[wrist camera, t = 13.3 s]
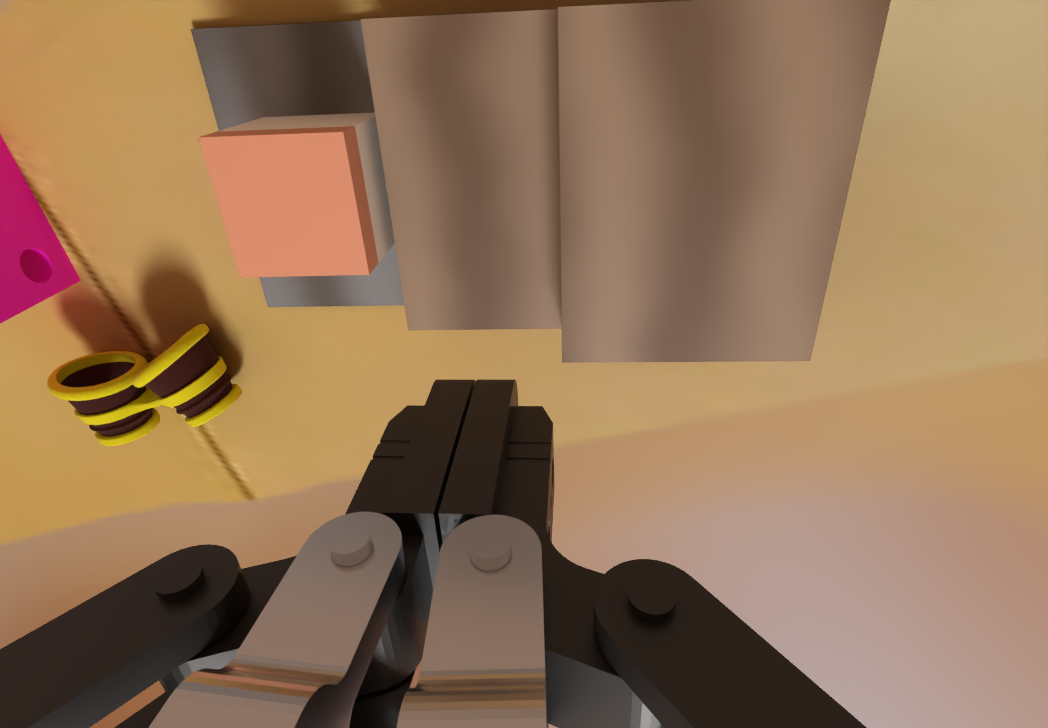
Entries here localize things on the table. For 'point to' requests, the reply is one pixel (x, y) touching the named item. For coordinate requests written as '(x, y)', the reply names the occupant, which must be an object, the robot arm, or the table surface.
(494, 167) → the stair block
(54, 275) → the magenta clamp bracket
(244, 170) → the cube
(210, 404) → the opera glasses
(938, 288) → the table surface
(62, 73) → the table surface
